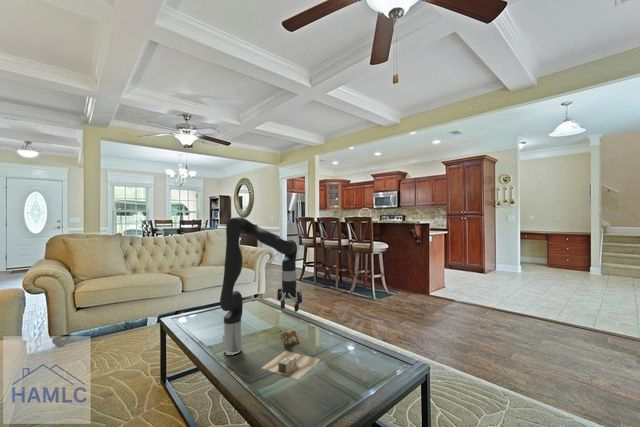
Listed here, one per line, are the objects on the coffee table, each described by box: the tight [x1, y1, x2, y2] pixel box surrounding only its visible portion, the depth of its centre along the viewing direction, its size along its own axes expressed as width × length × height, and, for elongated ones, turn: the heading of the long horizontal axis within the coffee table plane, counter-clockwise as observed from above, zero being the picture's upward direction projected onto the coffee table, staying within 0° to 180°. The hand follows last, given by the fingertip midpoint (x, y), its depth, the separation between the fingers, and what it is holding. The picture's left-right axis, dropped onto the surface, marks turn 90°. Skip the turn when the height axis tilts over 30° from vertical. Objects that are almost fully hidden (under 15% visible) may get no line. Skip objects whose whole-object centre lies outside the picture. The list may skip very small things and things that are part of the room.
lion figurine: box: [280, 329, 299, 346], centre depth 169 cm, size 15×5×9 cm, turn 153°
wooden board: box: [261, 350, 321, 380], centre depth 144 cm, size 22×20×1 cm
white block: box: [278, 355, 296, 373], centre depth 140 cm, size 4×4×9 cm
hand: (289, 309), depth 150 cm, fingers open, 8 cm apart
